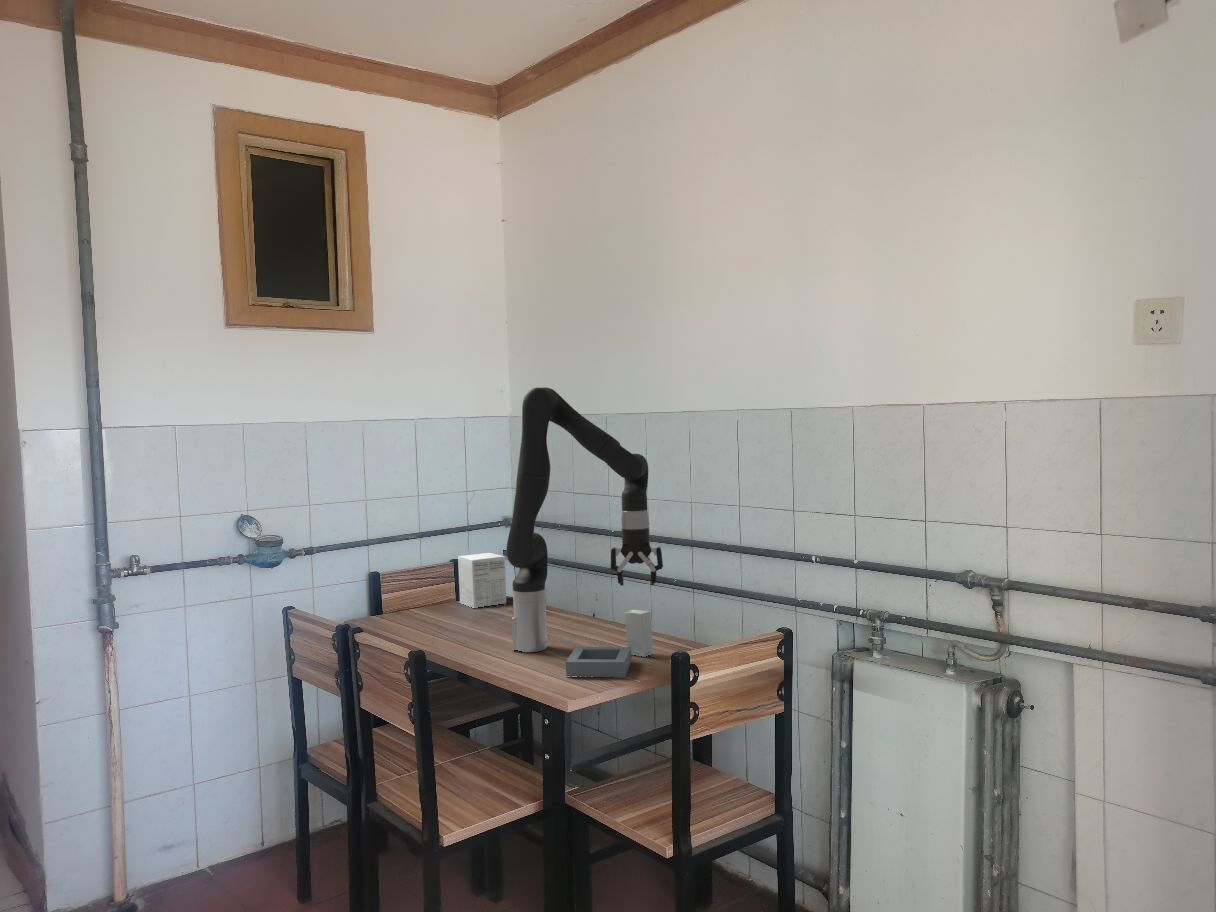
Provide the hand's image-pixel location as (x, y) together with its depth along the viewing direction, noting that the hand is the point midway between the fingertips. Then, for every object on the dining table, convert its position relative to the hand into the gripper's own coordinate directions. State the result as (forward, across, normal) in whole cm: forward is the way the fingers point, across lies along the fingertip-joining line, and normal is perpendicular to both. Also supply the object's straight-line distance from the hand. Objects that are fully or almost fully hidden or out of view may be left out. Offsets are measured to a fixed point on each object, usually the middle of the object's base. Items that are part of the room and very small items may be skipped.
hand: (637, 585), depth 250 cm
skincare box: (+20, 0, 0) cm, 20 cm away
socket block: (+19, -9, -15) cm, 26 cm away
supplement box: (+19, -64, +70) cm, 97 cm away
